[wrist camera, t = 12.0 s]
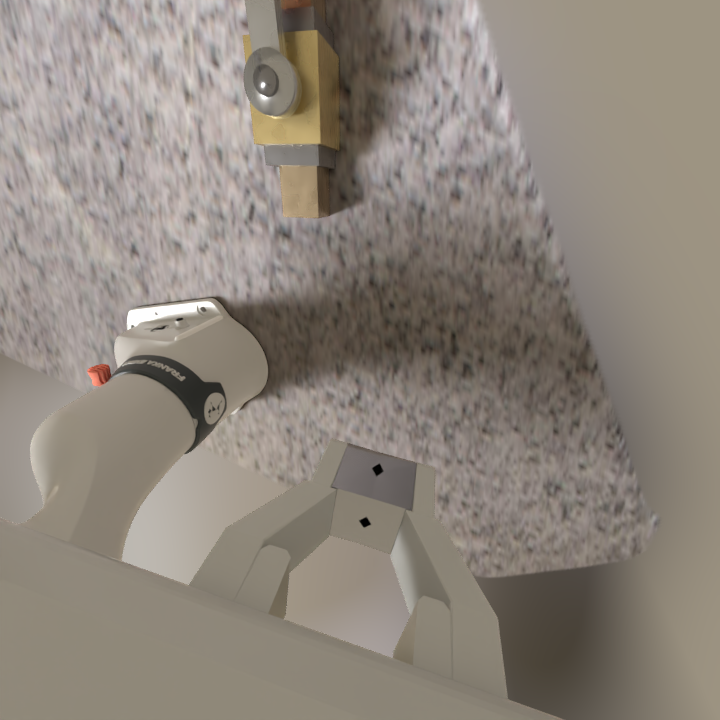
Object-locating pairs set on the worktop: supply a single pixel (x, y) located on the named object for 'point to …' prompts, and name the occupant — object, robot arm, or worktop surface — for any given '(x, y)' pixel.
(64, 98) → the worktop surface
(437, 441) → the worktop surface
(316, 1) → the valve
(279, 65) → the lever
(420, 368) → the worktop surface
